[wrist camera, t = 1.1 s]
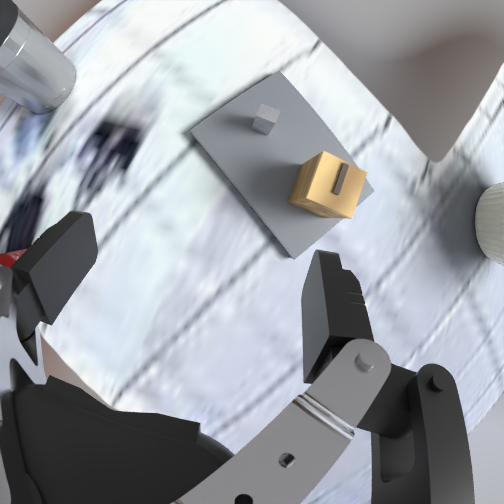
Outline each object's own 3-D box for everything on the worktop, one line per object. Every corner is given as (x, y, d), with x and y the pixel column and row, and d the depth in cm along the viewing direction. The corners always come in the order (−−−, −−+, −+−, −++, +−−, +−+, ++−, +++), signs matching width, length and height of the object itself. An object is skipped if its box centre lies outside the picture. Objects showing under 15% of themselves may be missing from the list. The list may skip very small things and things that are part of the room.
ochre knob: (287, 202, 35) (307, 197, 27) (301, 164, 35) (324, 150, 26) (324, 217, 36) (353, 218, 27) (337, 181, 35) (368, 172, 27)
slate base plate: (191, 133, 34) (189, 130, 33) (277, 75, 34) (279, 70, 33) (291, 257, 37) (294, 259, 36) (369, 191, 37) (374, 191, 36)
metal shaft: (250, 129, 33) (255, 115, 28) (255, 117, 33) (261, 103, 28) (267, 135, 34) (275, 123, 29) (272, 124, 34) (280, 110, 29)
